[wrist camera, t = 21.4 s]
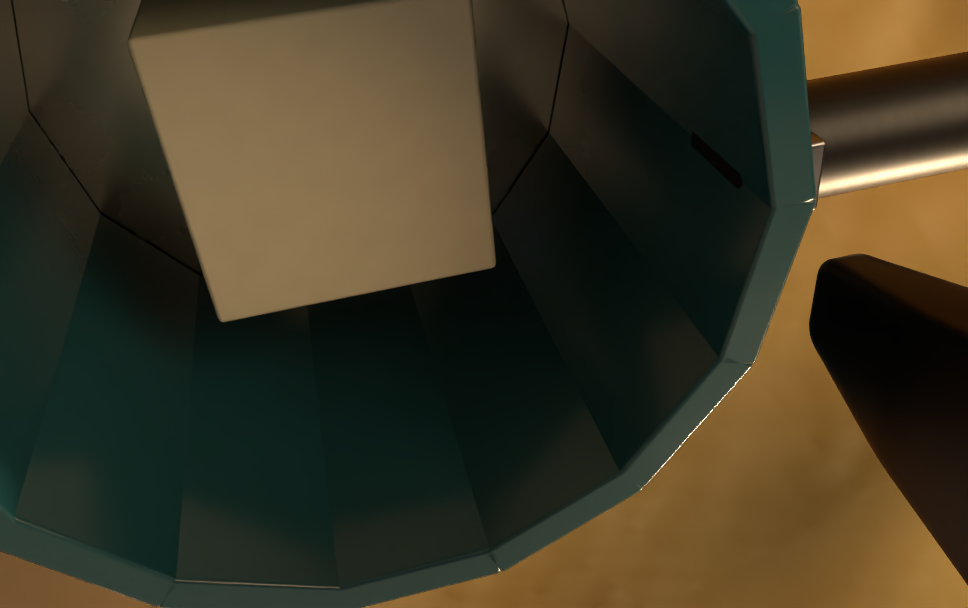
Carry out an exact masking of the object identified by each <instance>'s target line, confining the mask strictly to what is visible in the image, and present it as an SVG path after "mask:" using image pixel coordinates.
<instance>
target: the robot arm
mask: <svg viewBox="0 0 968 608" xmlns="http://www.w3.org/2000/svg"><path fill="white" fill-rule="evenodd" d="M809 330H810V336H811V339H812V342H813V344H814V347H815V349H816V350H817V352H818V354H819V356H820V358H821V359H822V361H823V363H824V365H825V366H826V368H827V370H828V372H829V374H830V375H831V377H832V379H833V381H834V382H835V384H836V386H837V388H838V390H839V391H840V393H841V395H842V397H843V399H844V400H845V402H846V404H847V406H848V407H849V409H850V411H851V413H852V415H853V416H854V418H855V420H856V422H857V423H858V425H859V427H860V429H861V431H862V432H863V434H864V436H865V438H866V440H867V441H868V443H869V444H870V446H871V448H872V449H873V451H874V453H875V454H876V456H877V458H878V459H879V461H880V462H881V464H882V465H883V467H884V468H885V470H886V471H887V473H888V474H889V475H890V477H891V478H892V480H893V481H894V483H895V484H896V485H897V487H898V488H899V490H900V491H901V492H902V494H903V495H904V497H905V498H906V499H907V501H908V502H909V504H910V505H911V506H912V508H913V509H914V511H915V512H916V513H917V515H918V516H919V518H920V519H921V520H922V522H923V523H924V525H925V526H926V527H927V529H928V530H929V532H930V533H931V534H932V536H933V537H934V539H935V540H936V541H937V543H938V544H939V546H940V547H941V548H942V550H943V551H944V553H945V554H946V555H947V557H948V558H949V560H950V561H951V562H952V564H953V565H954V567H955V568H956V569H957V571H958V572H959V574H960V575H961V576H962V578H963V579H964V581H965V582H966V583H967V585H968V288H967V287H964V286H961V285H958V284H955V283H952V282H949V281H946V280H943V279H939V278H936V277H933V276H930V275H927V274H924V273H921V272H918V271H915V270H912V269H909V268H906V267H903V266H899V265H896V264H893V263H890V262H887V261H884V260H881V259H878V258H875V257H872V256H869V255H865V254H853V255H848V256H844V257H839V258H834V259H829V260H827V261H826V262H824V263H823V264H822V265H821V267H820V269H819V271H818V274H817V280H816V286H815V291H814V297H813V303H812V309H811V315H810V321H809Z"/></svg>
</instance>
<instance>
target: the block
mask: <svg viewBox="0 0 968 608" xmlns="http://www.w3.org/2000/svg"><path fill="white" fill-rule="evenodd" d="M127 47H128V50H129V53H130V56H131V59H132V62H133V65H134V68H135V71H136V74H137V77H138V80H139V83H140V86H141V89H142V92H143V95H144V98H145V101H146V104H147V107H148V110H149V113H150V116H151V119H152V122H153V125H154V128H155V131H156V134H157V137H158V140H159V143H160V146H161V149H162V152H163V155H164V158H165V161H166V164H167V167H168V170H169V173H170V176H171V179H172V182H173V185H174V188H175V191H176V194H177V197H178V200H179V203H180V206H181V209H182V212H183V215H184V218H185V221H186V224H187V227H188V230H189V233H190V236H191V239H192V242H193V245H194V248H195V251H196V254H197V257H198V260H199V264H200V267H201V270H202V273H203V276H204V279H205V282H206V285H207V288H208V291H209V294H210V297H211V300H212V303H213V306H214V309H215V312H216V315H217V318H218V319H219V320H220V322H228V321H233V320H238V319H243V318H248V317H253V316H258V315H263V314H268V313H273V312H277V311H282V310H287V309H292V308H297V307H302V306H307V305H312V304H317V303H322V302H327V301H332V300H337V299H342V298H347V297H352V296H357V295H362V294H366V293H371V292H376V291H381V290H386V289H391V288H396V287H401V286H406V285H411V284H416V283H421V282H426V281H431V280H436V279H441V278H446V277H451V276H456V275H460V274H465V273H470V272H475V271H480V270H485V269H490V268H493V267H495V264H496V256H495V245H494V234H493V224H492V213H491V202H490V191H489V180H488V169H487V158H486V147H485V136H484V125H483V114H482V104H481V93H480V82H479V71H478V60H477V49H476V38H475V27H474V16H473V5H472V0H141V3H140V6H139V8H138V11H137V14H136V17H135V20H134V23H133V25H132V28H131V31H130V34H129V37H128V39H127Z"/></svg>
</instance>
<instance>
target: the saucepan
mask: <svg viewBox="0 0 968 608" xmlns="http://www.w3.org/2000/svg"><path fill="white" fill-rule="evenodd" d="M140 3H141V0H0V551H1V552H4V553H7V554H10V555H12V556H15V557H18V558H21V559H24V560H26V561H29V562H32V563H35V564H37V565H40V566H43V567H46V568H49V569H51V570H54V571H57V572H60V573H63V574H65V575H68V576H71V577H74V578H76V579H79V580H82V581H85V582H88V583H90V584H93V585H96V586H99V587H102V588H104V589H107V590H110V591H113V592H115V593H118V594H121V595H124V596H127V597H129V598H132V599H135V600H138V601H140V602H143V603H146V604H149V605H152V606H160V607H161V608H363V607H367V606H371V605H375V604H379V603H382V602H386V601H390V600H394V599H398V598H402V597H406V596H410V595H414V594H418V593H422V592H426V591H430V590H434V589H437V588H441V587H445V586H449V585H453V584H457V583H461V582H465V581H469V580H473V579H477V578H481V577H485V576H489V575H492V574H496V573H499V572H500V571H505V570H507V569H509V568H510V567H512V566H514V565H515V564H517V563H519V562H521V561H522V560H524V559H526V558H527V557H529V556H531V555H532V554H534V553H536V552H537V551H539V550H541V549H543V548H544V547H546V546H548V545H549V544H551V543H553V542H554V541H556V540H558V539H560V538H561V537H563V536H565V535H566V534H568V533H570V532H571V531H573V530H575V529H577V528H578V527H580V526H582V525H583V524H585V523H587V522H588V521H590V520H592V519H593V518H595V517H597V516H599V515H600V514H602V513H604V512H605V511H607V510H609V509H610V508H612V507H614V506H616V505H617V504H619V503H621V502H622V501H624V500H626V499H627V498H629V497H631V496H633V495H634V494H636V493H638V492H639V491H641V490H642V487H644V486H646V485H647V484H648V483H649V482H650V481H651V480H652V478H653V477H654V476H655V475H656V474H657V473H658V472H659V471H660V469H661V468H662V467H663V466H664V465H665V464H666V463H667V462H668V460H669V459H670V458H671V457H672V456H673V455H674V454H675V453H676V451H677V450H678V449H679V448H680V447H681V446H682V445H683V444H684V443H685V441H686V440H687V439H688V438H689V437H690V436H691V435H692V434H693V432H694V431H695V430H696V429H697V428H698V427H699V426H700V425H701V423H702V422H703V421H704V420H705V419H706V418H707V417H708V416H709V414H710V413H711V412H712V411H713V410H714V409H715V408H716V407H717V405H718V404H719V403H720V402H721V401H722V400H723V399H724V398H725V396H726V395H727V394H728V393H729V392H730V391H731V390H732V389H733V387H734V386H735V385H736V384H737V383H738V382H739V381H740V380H741V378H742V377H743V376H744V375H745V374H746V373H747V372H748V371H749V370H750V368H751V367H752V364H753V363H754V362H755V361H756V359H757V356H758V354H759V351H760V348H761V346H762V343H763V340H764V338H765V335H766V332H767V330H768V327H769V324H770V322H771V319H772V317H773V314H774V311H775V309H776V306H777V303H778V301H779V298H780V295H781V293H782V290H783V287H784V285H785V282H786V280H787V277H788V274H789V272H790V269H791V266H792V264H793V261H794V258H795V256H796V253H797V250H798V248H799V245H800V243H801V240H802V237H803V235H804V232H805V229H806V227H807V224H808V221H809V219H810V216H811V213H812V211H813V210H815V209H816V206H817V200H818V199H819V198H824V197H829V196H834V195H838V194H843V193H848V192H853V191H858V190H863V189H868V188H873V187H878V186H883V185H888V184H893V183H898V182H903V181H908V180H913V179H918V178H923V177H928V176H933V175H938V174H942V173H947V172H952V171H957V170H962V169H967V168H968V52H963V53H957V54H951V55H946V56H940V57H935V58H929V59H924V60H918V61H913V62H907V63H902V64H896V65H890V66H885V67H879V68H874V69H868V70H863V71H857V72H852V73H846V74H841V75H835V76H829V77H824V78H818V79H813V80H806V68H805V56H804V43H803V31H802V19H801V8H800V6H799V4H798V0H472V5H473V16H474V27H475V38H476V49H477V60H478V71H479V82H480V93H481V104H482V114H483V125H484V136H485V147H486V158H487V169H488V180H489V191H490V202H491V213H492V224H493V234H494V245H495V256H496V264H495V267H493V268H490V269H485V270H480V271H475V272H470V273H465V274H460V275H456V276H451V277H446V278H441V279H436V280H431V281H426V282H421V283H416V284H411V285H406V286H401V287H396V288H391V289H386V290H381V291H376V292H371V293H366V294H362V295H357V296H352V297H347V298H342V299H337V300H332V301H327V302H322V303H317V304H312V305H307V306H302V307H297V308H292V309H287V310H282V311H277V312H273V313H268V314H263V315H258V316H253V317H248V318H243V319H238V320H233V321H228V322H220V320H219V319H218V318H217V315H216V312H215V309H214V306H213V303H212V300H211V297H210V294H209V291H208V288H207V285H206V282H205V279H204V276H203V273H202V270H201V267H200V264H199V260H198V257H197V254H196V251H195V248H194V245H193V242H192V239H191V236H190V233H189V230H188V227H187V224H186V221H185V218H184V215H183V212H182V209H181V206H180V203H179V200H178V197H177V194H176V191H175V188H174V185H173V182H172V179H171V176H170V173H169V170H168V167H167V164H166V161H165V158H164V155H163V152H162V149H161V146H160V143H159V140H158V137H157V134H156V131H155V128H154V125H153V122H152V119H151V116H150V113H149V110H148V107H147V104H146V101H145V98H144V95H143V92H142V89H141V86H140V83H139V80H138V77H137V74H136V71H135V68H134V65H133V62H132V59H131V56H130V53H129V50H128V47H127V39H128V37H129V34H130V31H131V28H132V25H133V23H134V20H135V17H136V14H137V11H138V8H139V6H140Z"/></svg>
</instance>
